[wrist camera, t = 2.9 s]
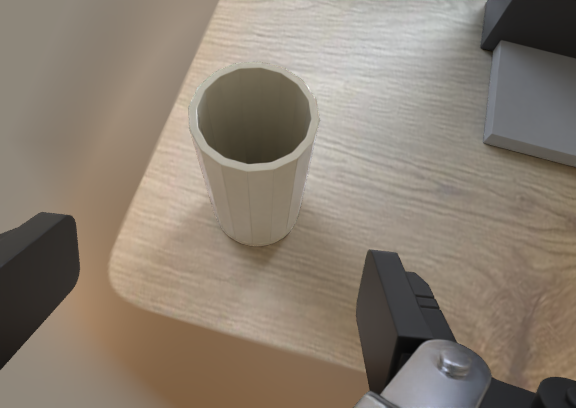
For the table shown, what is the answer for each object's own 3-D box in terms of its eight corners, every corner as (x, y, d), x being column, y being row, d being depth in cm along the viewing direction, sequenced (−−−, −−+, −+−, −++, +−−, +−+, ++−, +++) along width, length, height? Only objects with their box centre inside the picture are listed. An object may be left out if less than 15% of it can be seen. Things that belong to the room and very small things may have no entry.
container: (202, 232, 26) (168, 150, 16) (230, 159, 28) (214, 49, 18) (286, 256, 25) (300, 186, 16) (308, 180, 27) (331, 79, 18)
